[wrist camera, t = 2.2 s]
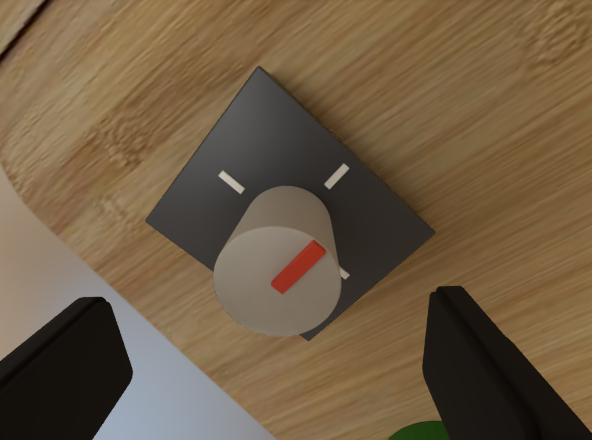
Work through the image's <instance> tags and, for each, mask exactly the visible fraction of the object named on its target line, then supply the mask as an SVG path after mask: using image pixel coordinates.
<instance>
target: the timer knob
mask: <svg viewBox="0 0 592 440" xmlns="http://www.w3.org/2000/svg"><path fill="white" fill-rule="evenodd" d="M213 282H214V289H215V292H216V296H217V298H218V300H219V302H220V304H221V306H222V307H223V309H224V310H225V311H226V313H227V314H228V315H229V316H230V317H231V318H232V319H233V320H235V321H236V322H237V323H238V324H240V325H242V326H243V327H245V328H247V329H249V330H251V331H254V332H256V333H259V334H263V335H268V336H279V337H283V336H293V335H298V334H301V333H304V332H307V331H309V330H311V329H313V328H315V327H317V326H318V325H319V324H321V323H322V322H323V321H324V320H325V319H326V318H327V317H328V316H329V315H330V314H331V313H332V311H333V310H334V308H335V306H336V304H337V302H338V299H339V297H340V292H341V274H340V269H339V263H338V258H337V252H336V246H335V241H334V235H333V230H332V224H331V219H330V215H329V213H328V210H327V209H326V207H325V205H324V204H323V203H322V201H321V200H320V199H319V198H318V197H316V196H315V195H314V194H312V193H311V192H309V191H307V190H305V189H302V188H299V187H294V186H278V187H274V188H271V189H269V190H266V191H265V192H263V193H261V194H260V195H259V196H257V197H256V198H255V199H254V200H253V202H252V203H251V204H250V206H249V208H248V209H247V211H246V212H245V214H244V216H243V217H242V219H241V220H240V222H239V224H238V225H237V227H236V228H235V230H234V232H233V233H232V235H231V236H230V238H229V240H228V241H227V243H226V244H225V246H224V248H223V249H222V251H221V253H220V254H219V256H218V258H217V261H216V264H215V267H214V273H213Z"/></svg>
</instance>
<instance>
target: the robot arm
mask: <svg viewBox="0 0 592 440" xmlns="http://www.w3.org/2000/svg"><path fill="white" fill-rule="evenodd" d="M422 369H423V375H424V379H425V382H426V384H427V386H428V389H429V391H430V393H431V396H432V398H433V400H434V403H435V405H436V407H437V410H438V412H439V414H440V417H441V419H442V422H443V424H444V426H445V429H446V431H447V433H448V436H449V438H450V440H592V433H591V432H590V430H589V429H588V428H587V427H586V426H585V425H584V424H583V422H582V421H581V420H580V419H579V418H578V417H577V416H576V414H575V413H574V412H573V411H572V410H571V409H570V408H569V406H568V405H567V404H566V403H565V402H564V401H563V400H562V398H561V397H560V396H559V395H558V394H557V393H556V392H555V390H554V389H553V388H552V387H551V386H550V385H549V384H548V382H547V381H546V380H545V379H544V378H543V377H542V376H541V374H540V373H539V372H538V371H537V370H536V369H535V368H534V366H533V365H532V364H531V363H530V362H529V361H528V359H527V358H526V357H525V356H524V355H523V354H522V353H521V351H520V350H519V349H518V348H517V347H516V346H515V345H514V343H513V342H512V341H510V340H509V339H508V338H507V337H505V335H504V334H503V333H502V332H501V331H500V330H499V328H498V327H497V326H496V325H495V324H494V323H493V322H492V320H491V319H490V318H489V317H488V316H487V315H486V313H485V312H484V311H483V310H482V309H481V308H480V307H479V305H478V304H477V303H476V302H475V301H474V300H473V298H472V297H471V296H470V295H469V294H468V293H467V292H466V290H465V289H464V288H463V287H462V286H439V287H438V288H437V289H436V292H431V294H430V298H429V308H428V317H427V327H426V336H425V346H424V355H423V365H422ZM132 375H133V370H132V366H131V363H130V360H129V357H128V354H127V352H126V349H125V345H124V342H123V340H122V336H121V333H120V330H119V327H118V325H117V322H116V319H115V316H114V313H113V310H112V307H111V305H110V303H109V302H107V301H106V300H105V299H104V298H103V297H82V298H79V299H77V300H76V301H74V302H73V303H72V304H71V305H69V306H68V307H67V308H66V309H64V310H63V311H62V312H61V313H59V314H58V315H57V316H56V317H54V318H53V319H52V320H51V321H50V322H49V323H47V324H46V325H45V326H43V327H42V328H41V329H40V330H38V331H37V332H36V333H35V334H33V335H32V336H31V337H30V338H28V339H27V340H26V341H25V342H23V343H22V344H21V345H20V346H18V347H17V348H16V349H15V350H14V351H12V352H11V353H10V354H8V355H7V356H6V357H5V358H3V359H2V360H1V361H0V440H92V439H93V438H94V436H95V435H96V433H97V432H98V430H99V429H100V427H101V426H102V424H103V423H104V421H105V420H106V418H107V417H108V415H109V414H110V412H111V411H112V409H113V408H114V406H115V405H116V403H117V402H118V400H119V398H120V397H121V396H122V394H123V393H124V391H125V390H126V388H127V386H128V385H129V384H130V382H131V379H132Z"/></svg>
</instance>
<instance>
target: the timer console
mask: <svg viewBox="0 0 592 440" xmlns="http://www.w3.org/2000/svg"><path fill="white" fill-rule="evenodd" d="M278 186H294V187H299V188H302V189H305V190H307V191H309V192H311V193H312V194H314V195H315V196H316V197H318V198H319V199H320V200H321V201H322V203H323V204H324V205H325V207H326V209H327V210H328V213H329V215H330V219H331V224H332V230H333V235H334V241H335V246H336V252H337V258H338V263H339V269H340V274H341V292H340V297H339V299H338V302H337V304H336V306H335V308H334V310H333V311H332V313H331V314H330V315H329V316H328V317H327V318H326V319H325V320H324V321H323V322H322V323H321V324H319V325H318V326H317V327H315V328H313V329H311V330H309V331H307V332H304V333H301V334H299V335H301V336H302V337H303V338H305V339H306V340H307V341H310V340H311V339H312V338H313V337H314V336H316V335H317V334H318V333H319V332H320V331H321V330H323V329H324V328H325V327H326V326H327V325H329V324H330V323H331V322H332V321H333V320H334V319H336V318H337V317H338V316H339V315H340V314H341V313H343V312H344V311H345V310H346V309H347V308H348V307H350V306H351V305H352V304H353V303H354V302H356V301H357V300H358V299H359V298H360V297H361V296H363V295H364V294H365V293H366V292H367V291H368V290H370V289H371V288H372V287H373V286H374V285H376V284H377V283H378V282H379V281H380V280H381V279H383V278H384V277H385V276H386V275H387V274H388V273H390V272H391V271H392V270H393V269H394V268H396V267H397V266H398V265H399V264H400V263H401V262H403V261H404V260H405V259H406V258H407V257H408V256H410V255H411V254H412V253H413V252H414V251H415V250H417V249H418V248H419V247H420V246H421V245H423V244H424V243H425V242H426V241H427V240H428V239H430V238H431V237H432V236H433V235H434V234H435V231H434V230H433V229H432V228H431V227H430V226H429V225H428V224H427V223H426V222H425V221H424V220H423V219H422V218H421V217H420V216H419V215H418V214H417V213H416V212H415V211H414V210H413V209H412V208H411V207H410V206H409V205H408V204H406V203H405V202H404V201H403V200H402V199H401V198H400V197H399V196H398V195H397V194H396V193H395V192H394V191H393V190H392V189H391V188H390V187H389V186H387V185H386V184H385V183H384V182H383V181H382V180H381V179H380V178H379V177H378V176H377V175H376V174H375V173H374V172H373V171H372V170H371V169H369V168H368V167H367V166H366V165H365V164H364V163H363V162H362V161H361V160H360V159H359V158H358V157H357V156H356V155H355V154H354V153H353V152H351V151H350V150H349V149H348V148H347V147H346V146H345V145H344V144H343V143H342V142H341V141H340V140H339V139H338V138H337V137H336V136H335V135H333V134H332V133H331V132H330V131H329V130H328V129H327V128H326V127H325V126H324V125H323V124H322V123H321V122H320V121H319V120H318V119H317V118H315V117H314V116H313V115H312V114H311V113H310V112H309V111H308V110H307V109H306V108H305V107H304V106H303V105H302V104H301V103H300V102H299V101H297V100H296V99H295V98H294V97H293V96H292V95H291V94H290V93H289V92H288V91H287V90H286V89H285V88H284V87H283V86H282V85H281V84H279V83H278V82H277V81H276V80H275V79H274V78H273V77H272V76H271V75H270V74H269V73H268V72H266V71H265V70H264V69H263V68H262V67H260V66H258V67H257V68H256V69H255V71H254V72H253V73H252V75H251V76H250V77H249V79H248V80H247V81H246V83H245V84H244V86H243V87H242V88H241V90H240V91H239V92H238V94H237V95H236V97H235V98H234V99H233V101H232V102H231V103H230V105H229V106H228V108H227V109H226V110H225V112H224V113H223V114H222V116H221V117H220V118H219V120H218V121H217V123H216V124H215V125H214V127H213V128H212V129H211V131H210V132H209V134H208V135H207V136H206V138H205V139H204V140H203V142H202V143H201V144H200V146H199V147H198V149H197V150H196V151H195V153H194V154H193V155H192V157H191V158H190V160H189V161H188V162H187V164H186V165H185V166H184V168H183V169H182V170H181V172H180V173H179V175H178V176H177V177H176V179H175V180H174V181H173V183H172V184H171V186H170V187H169V188H168V190H167V191H166V192H165V194H164V195H163V196H162V198H161V199H160V201H159V202H158V203H157V205H156V206H155V207H154V209H153V210H152V212H151V213H150V214H149V216H148V217H147V218H146V220H145V222H146V223H148V224H149V225H150V226H152V227H153V228H154V229H156V230H157V231H159V232H160V233H161V234H163V235H164V236H165V237H167V238H168V239H169V240H171V241H172V242H174V243H175V244H176V245H178V246H179V247H180V248H182V249H183V250H184V251H186V252H187V253H189V254H190V255H191V256H193V257H194V258H195V259H197V260H198V261H199V262H201V263H202V264H204V265H205V266H206V267H208V268H209V269H210V270H212V271H213V272H214V267H215V264H216V261H217V258H218V256H219V254H220V253H221V251H222V249H223V248H224V246H225V244H226V243H227V241H228V240H229V238H230V236H231V235H232V233H233V232H234V230H235V228H236V227H237V225H238V224H239V222H240V220H241V219H242V217H243V216H244V214H245V212H246V211H247V209H248V208H249V206H250V204H251V203H252V202H253V200H254V199H255V198H256V197H257V196H259V195H260V194H261V193H263V192H265V191H266V190H269V189H271V188H274V187H278Z"/></svg>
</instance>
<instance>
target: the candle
mask: <svg viewBox="0 0 592 440" xmlns="http://www.w3.org/2000/svg"><path fill="white" fill-rule="evenodd" d="M389 440H450V438H449V436H448V433H447V431H446V429H445V426H444V424H443V422H422V423H418V424H414V425H410V426H408V427H406V428H403V429H401V430H400V431H398V432H396V433H395V434H394V435H393V436H392V437H391V438H389Z"/></svg>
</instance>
